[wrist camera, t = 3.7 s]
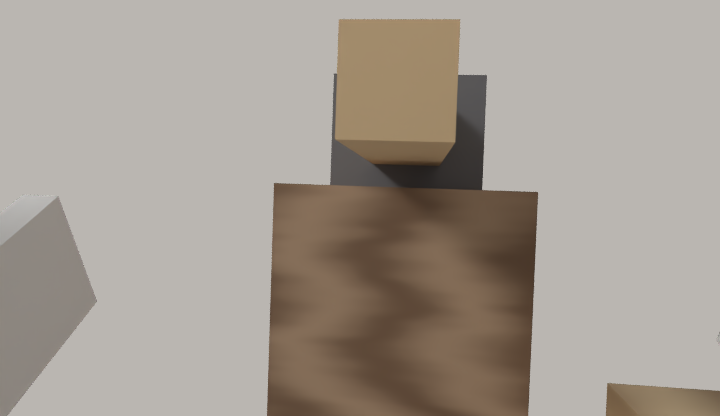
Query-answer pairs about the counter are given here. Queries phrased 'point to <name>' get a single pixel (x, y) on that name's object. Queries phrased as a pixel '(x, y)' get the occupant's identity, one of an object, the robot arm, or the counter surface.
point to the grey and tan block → (405, 107)
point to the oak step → (660, 401)
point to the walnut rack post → (400, 301)
